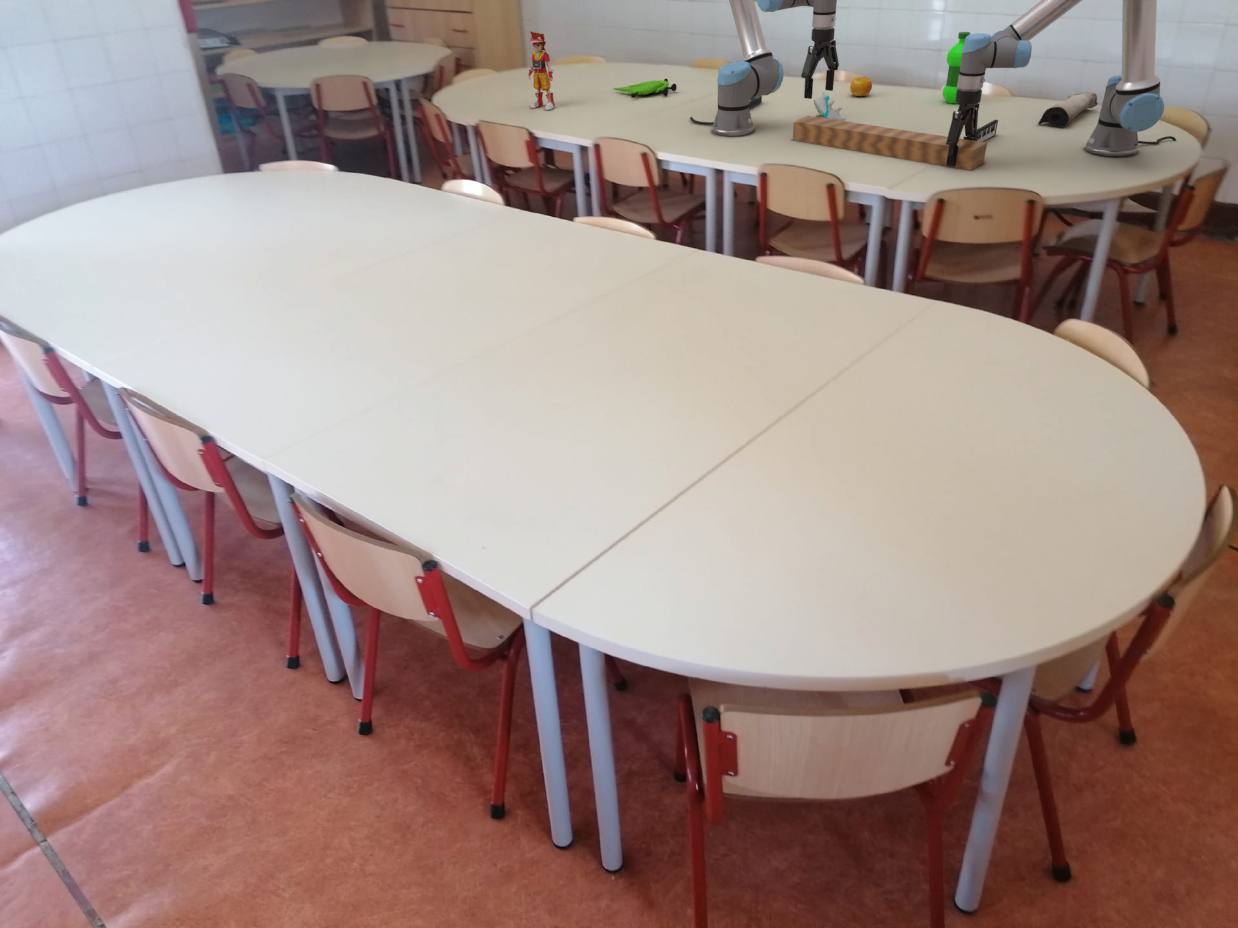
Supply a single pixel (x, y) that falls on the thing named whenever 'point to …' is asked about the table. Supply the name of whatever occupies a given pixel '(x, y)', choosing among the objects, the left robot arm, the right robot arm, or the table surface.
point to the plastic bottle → (954, 68)
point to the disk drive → (754, 101)
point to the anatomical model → (827, 108)
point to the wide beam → (887, 141)
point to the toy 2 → (648, 88)
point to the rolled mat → (1068, 109)
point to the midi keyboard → (986, 131)
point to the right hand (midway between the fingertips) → (957, 161)
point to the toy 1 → (541, 71)
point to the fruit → (861, 86)
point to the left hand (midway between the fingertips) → (818, 94)
